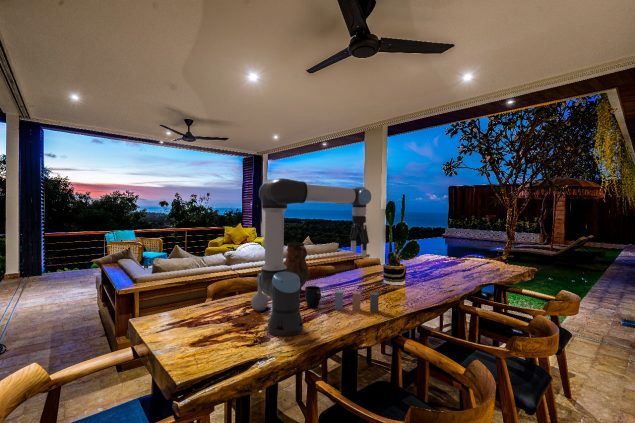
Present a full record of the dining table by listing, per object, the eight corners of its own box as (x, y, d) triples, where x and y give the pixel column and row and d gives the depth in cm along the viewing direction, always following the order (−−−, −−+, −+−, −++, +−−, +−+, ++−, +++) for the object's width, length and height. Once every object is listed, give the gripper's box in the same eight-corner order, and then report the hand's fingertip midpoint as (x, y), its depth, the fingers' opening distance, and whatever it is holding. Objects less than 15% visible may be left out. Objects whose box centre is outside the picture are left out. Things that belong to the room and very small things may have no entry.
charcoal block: (378, 312, 149) (378, 295, 149) (370, 312, 149) (370, 294, 149) (377, 310, 153) (378, 292, 153) (369, 309, 153) (370, 292, 153)
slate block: (342, 310, 151) (342, 292, 151) (334, 309, 152) (335, 292, 152) (342, 307, 155) (343, 290, 155) (335, 307, 156) (335, 290, 156)
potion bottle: (271, 308, 152) (272, 273, 152) (257, 312, 146) (257, 276, 145) (261, 304, 158) (262, 270, 158) (247, 308, 152) (247, 273, 151)
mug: (312, 311, 148) (312, 292, 148) (302, 304, 159) (302, 286, 159) (326, 309, 152) (326, 290, 152) (315, 302, 163) (316, 285, 163)
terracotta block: (360, 311, 150) (360, 293, 150) (352, 311, 151) (352, 293, 150) (360, 308, 154) (360, 291, 154) (352, 308, 155) (352, 291, 154)
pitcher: (300, 286, 194) (301, 240, 193) (316, 295, 176) (317, 244, 175) (276, 289, 185) (277, 242, 185) (291, 299, 167) (292, 246, 167)
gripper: (376, 216, 151) (375, 257, 151) (356, 214, 175) (355, 250, 175) (362, 216, 149) (361, 258, 149) (344, 214, 173) (343, 250, 173)
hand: (358, 254), depth 162 cm, fingers open, 13 cm apart
